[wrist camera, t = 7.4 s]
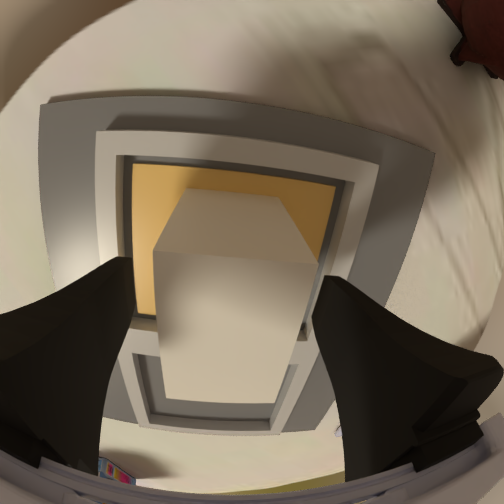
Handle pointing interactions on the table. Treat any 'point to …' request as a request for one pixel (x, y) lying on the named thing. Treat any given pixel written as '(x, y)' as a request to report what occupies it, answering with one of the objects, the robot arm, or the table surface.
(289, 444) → the table surface
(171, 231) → the plug
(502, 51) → the mate gourd
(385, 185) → the grey flat tray
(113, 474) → the ink cartridge box
